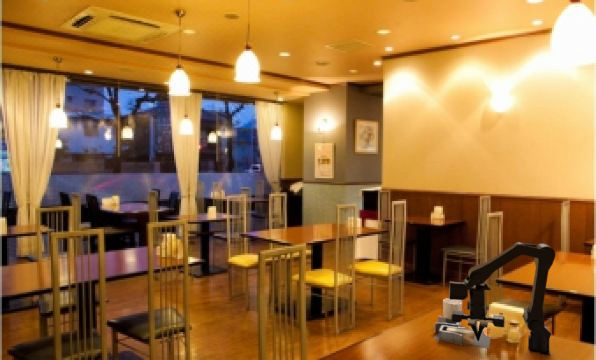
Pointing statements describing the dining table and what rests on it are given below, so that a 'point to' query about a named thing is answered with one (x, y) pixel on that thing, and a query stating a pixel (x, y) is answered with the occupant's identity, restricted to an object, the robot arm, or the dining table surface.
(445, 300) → the white cup
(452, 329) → the wooden block
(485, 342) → the mat
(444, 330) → the end cap
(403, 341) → the dining table surface
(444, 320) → the end cap
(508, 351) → the dining table surface
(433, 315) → the dining table surface
